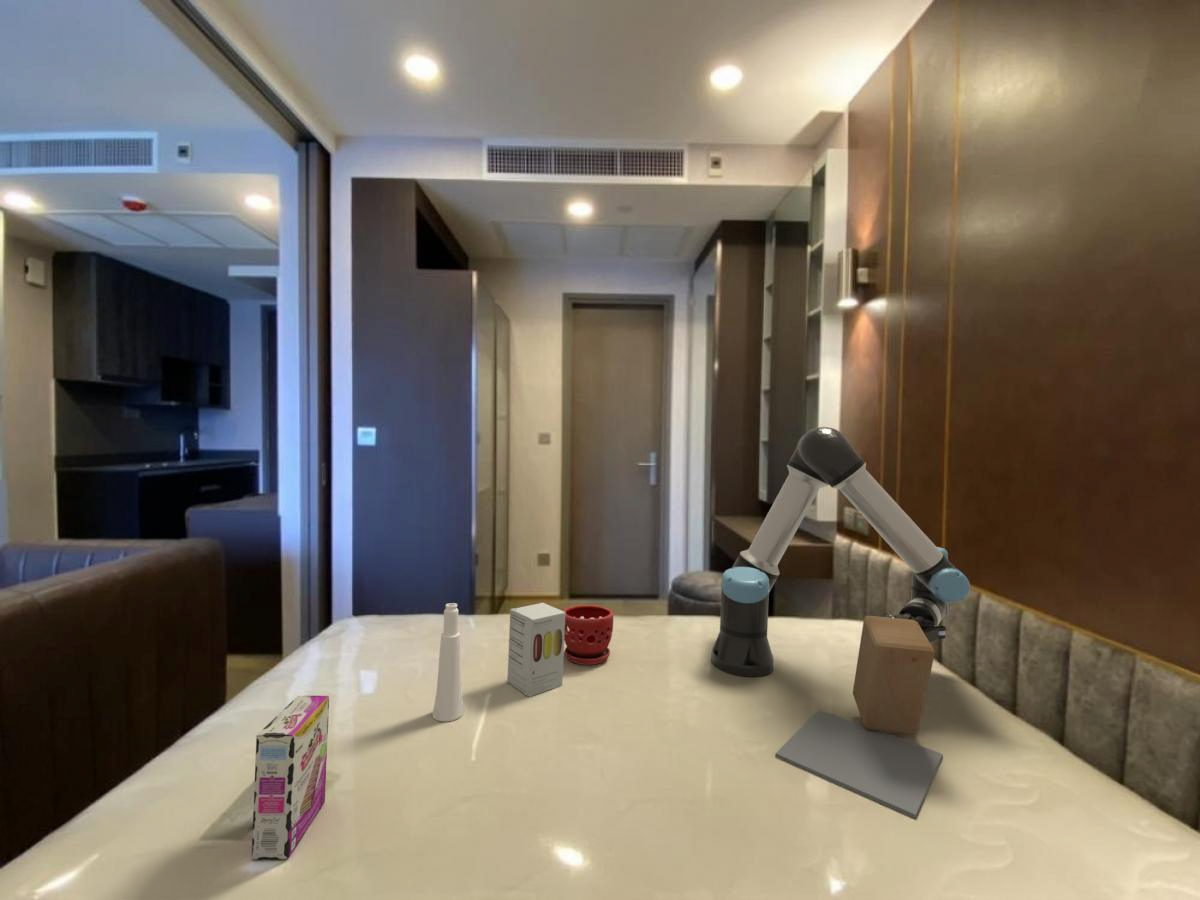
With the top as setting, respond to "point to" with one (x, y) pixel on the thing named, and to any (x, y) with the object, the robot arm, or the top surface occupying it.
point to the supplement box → (536, 648)
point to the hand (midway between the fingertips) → (895, 644)
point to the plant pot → (588, 634)
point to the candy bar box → (289, 777)
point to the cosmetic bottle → (449, 670)
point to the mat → (864, 761)
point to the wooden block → (892, 674)
